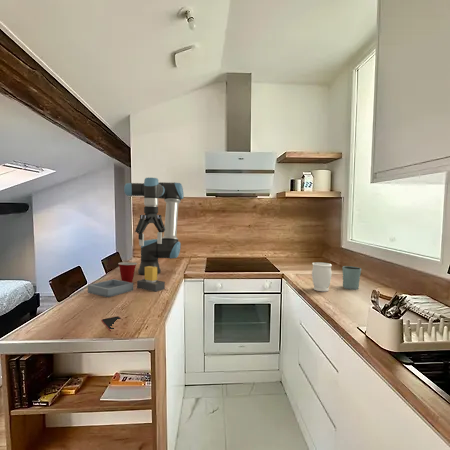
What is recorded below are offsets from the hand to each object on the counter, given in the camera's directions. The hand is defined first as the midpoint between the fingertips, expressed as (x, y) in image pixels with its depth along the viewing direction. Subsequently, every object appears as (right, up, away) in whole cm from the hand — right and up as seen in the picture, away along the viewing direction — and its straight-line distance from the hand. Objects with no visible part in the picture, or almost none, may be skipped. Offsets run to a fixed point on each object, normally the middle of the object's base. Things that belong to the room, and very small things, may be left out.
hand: (150, 244), depth 159 cm
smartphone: (-1, -27, -49) cm, 56 cm away
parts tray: (-20, -24, -6) cm, 32 cm away
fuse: (0, -24, +1) cm, 25 cm away
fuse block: (0, -24, +1) cm, 24 cm away
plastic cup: (-17, -24, +14) cm, 32 cm away
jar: (+96, -26, +5) cm, 100 cm away
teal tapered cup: (+115, -26, +11) cm, 119 cm away
